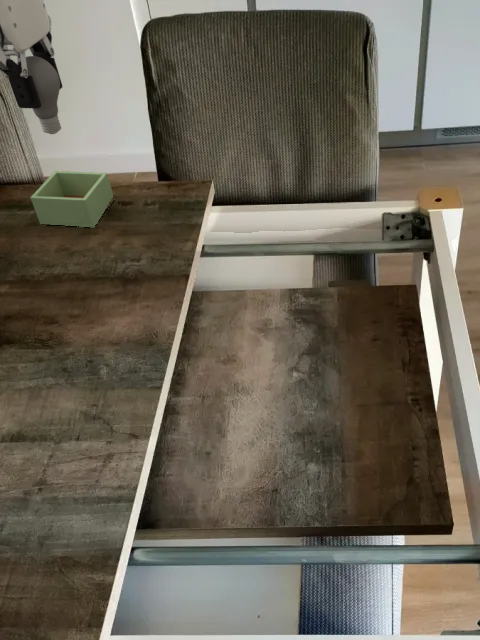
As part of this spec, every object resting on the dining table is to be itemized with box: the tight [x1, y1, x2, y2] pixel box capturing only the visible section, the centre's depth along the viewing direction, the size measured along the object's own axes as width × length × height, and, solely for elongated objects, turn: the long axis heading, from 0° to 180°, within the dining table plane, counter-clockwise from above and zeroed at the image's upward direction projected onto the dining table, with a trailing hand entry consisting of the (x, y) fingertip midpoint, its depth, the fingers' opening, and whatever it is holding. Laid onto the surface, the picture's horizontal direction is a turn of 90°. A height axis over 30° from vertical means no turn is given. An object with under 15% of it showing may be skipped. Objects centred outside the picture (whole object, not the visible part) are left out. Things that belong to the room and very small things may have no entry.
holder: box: [30, 170, 114, 229], centre depth 102 cm, size 9×9×5 cm
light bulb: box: [16, 55, 62, 135], centre depth 91 cm, size 6×6×10 cm
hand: (41, 96), depth 91 cm, fingers closed on light bulb, 6 cm apart
